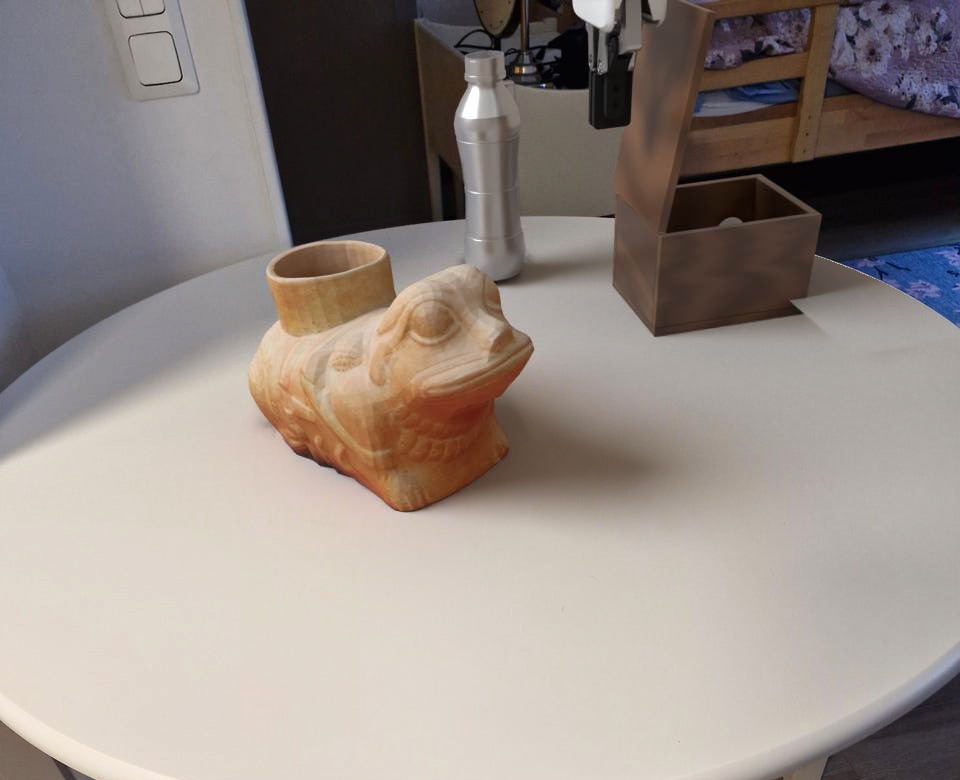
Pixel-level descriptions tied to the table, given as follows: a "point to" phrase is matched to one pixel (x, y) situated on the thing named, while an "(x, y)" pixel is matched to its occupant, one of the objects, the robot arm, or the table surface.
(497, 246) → the silver bottle
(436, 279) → the ceramic vessel
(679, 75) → the lid
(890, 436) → the table surface
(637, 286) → the chest
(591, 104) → the robot arm
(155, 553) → the table surface
